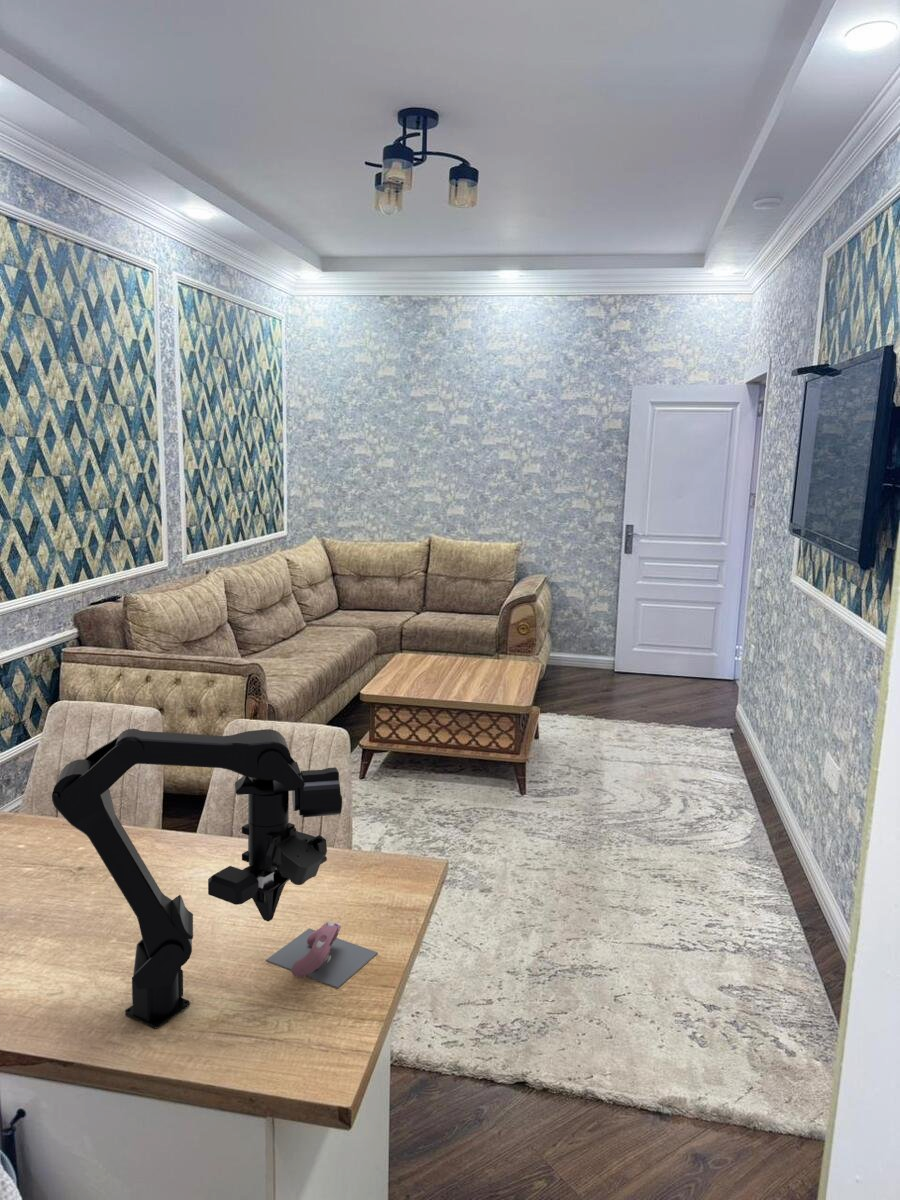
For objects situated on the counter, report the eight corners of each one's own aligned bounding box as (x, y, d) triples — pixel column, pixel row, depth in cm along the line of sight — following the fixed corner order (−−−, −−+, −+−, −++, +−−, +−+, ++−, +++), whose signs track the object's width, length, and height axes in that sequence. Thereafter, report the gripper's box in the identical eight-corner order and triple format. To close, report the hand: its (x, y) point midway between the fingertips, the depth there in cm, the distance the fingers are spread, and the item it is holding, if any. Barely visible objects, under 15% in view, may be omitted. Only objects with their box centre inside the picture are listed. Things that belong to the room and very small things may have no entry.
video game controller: (313, 990, 129) (333, 954, 128) (287, 975, 129) (307, 939, 128) (330, 954, 139) (349, 920, 138) (306, 940, 139) (325, 906, 138)
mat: (337, 988, 128) (337, 987, 128) (266, 960, 134) (266, 959, 134) (377, 953, 137) (378, 952, 137) (309, 929, 144) (309, 928, 144)
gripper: (267, 857, 110) (266, 968, 112) (352, 810, 126) (350, 908, 128) (204, 836, 115) (205, 942, 117) (293, 794, 131) (292, 888, 134)
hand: (267, 919), depth 124 cm, fingers closed
